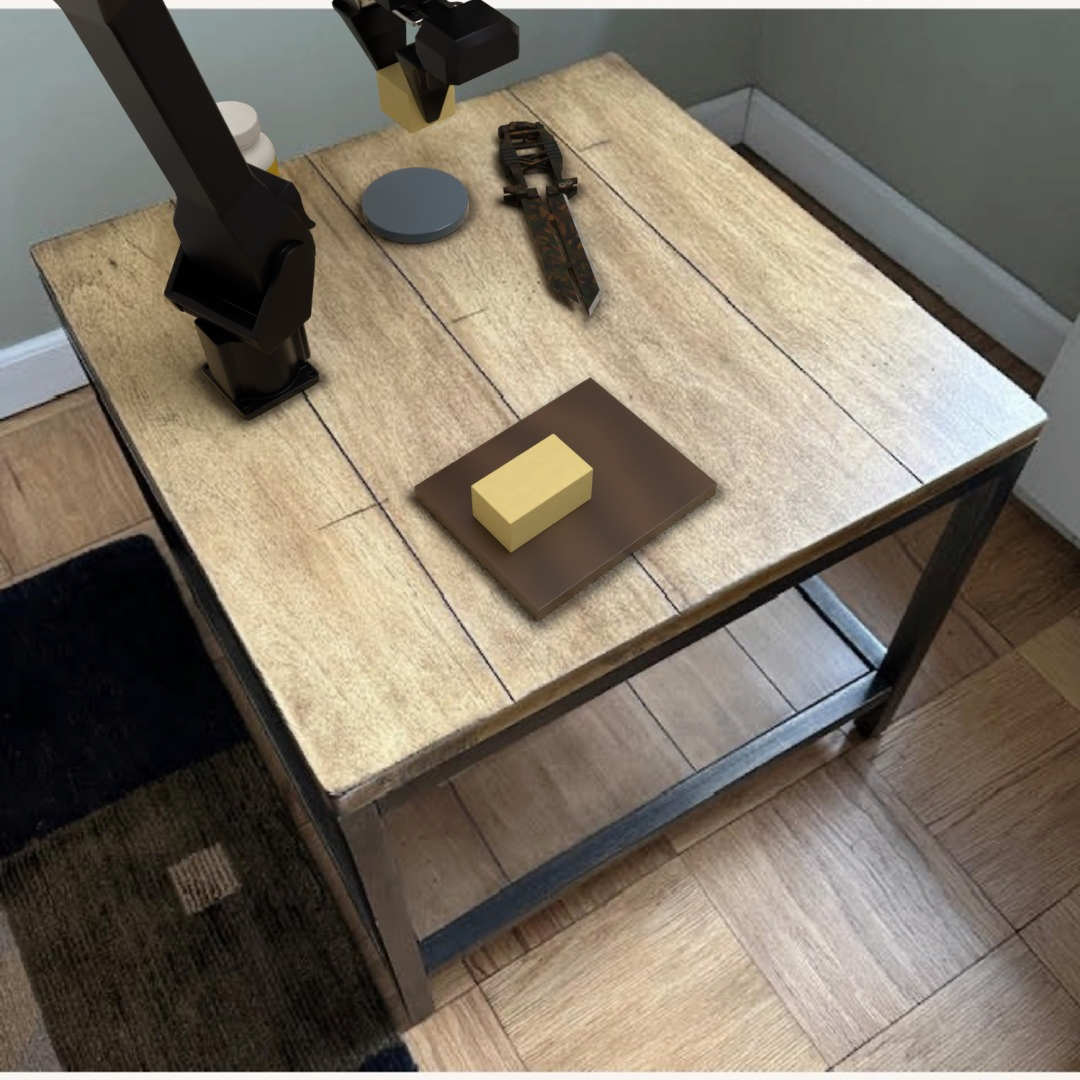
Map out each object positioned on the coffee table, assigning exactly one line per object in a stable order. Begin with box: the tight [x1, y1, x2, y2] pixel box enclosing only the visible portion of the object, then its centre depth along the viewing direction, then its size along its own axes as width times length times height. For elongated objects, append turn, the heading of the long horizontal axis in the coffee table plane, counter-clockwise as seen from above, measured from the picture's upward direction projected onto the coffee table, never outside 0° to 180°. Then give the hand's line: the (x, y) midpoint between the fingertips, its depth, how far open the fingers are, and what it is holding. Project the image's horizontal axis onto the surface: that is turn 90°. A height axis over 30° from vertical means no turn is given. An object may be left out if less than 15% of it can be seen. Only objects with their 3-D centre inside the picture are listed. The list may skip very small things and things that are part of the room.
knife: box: [497, 120, 604, 317], centre depth 92 cm, size 25×6×1 cm, turn 8°
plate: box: [361, 166, 470, 244], centre depth 93 cm, size 9×9×1 cm
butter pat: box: [375, 62, 457, 135], centre depth 82 cm, size 4×4×3 cm
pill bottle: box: [216, 100, 281, 177], centre depth 86 cm, size 6×6×11 cm
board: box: [413, 376, 718, 622], centre depth 75 cm, size 16×13×1 cm
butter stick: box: [471, 434, 593, 552], centre depth 72 cm, size 7×4×3 cm, turn 130°
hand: (415, 108), depth 83 cm, fingers closed on butter pat, 4 cm apart
